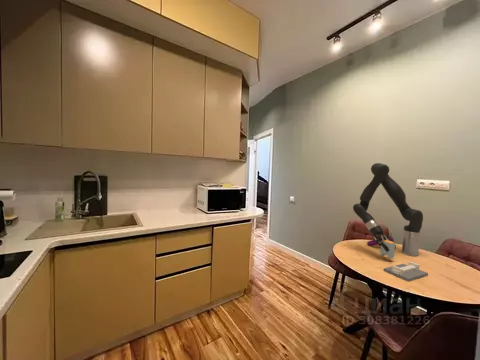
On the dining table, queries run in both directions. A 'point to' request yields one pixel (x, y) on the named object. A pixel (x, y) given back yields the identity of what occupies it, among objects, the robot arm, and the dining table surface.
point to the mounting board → (407, 275)
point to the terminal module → (390, 246)
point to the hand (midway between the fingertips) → (390, 250)
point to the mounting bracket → (373, 243)
